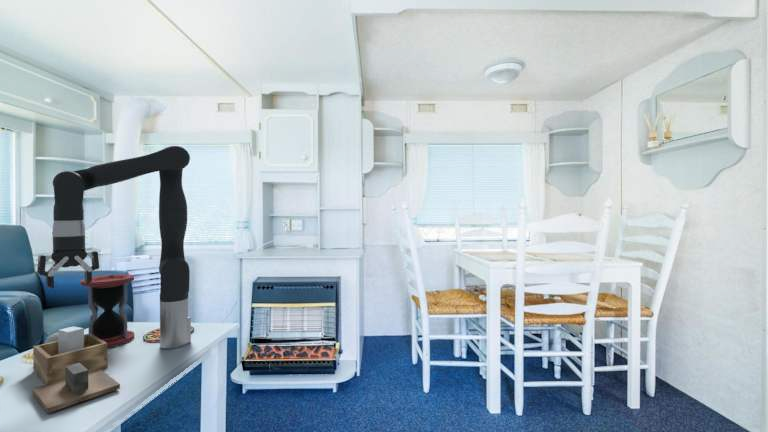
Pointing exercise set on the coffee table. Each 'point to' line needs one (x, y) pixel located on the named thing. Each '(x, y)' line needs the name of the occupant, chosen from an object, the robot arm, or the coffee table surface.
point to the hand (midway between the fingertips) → (70, 285)
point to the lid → (74, 388)
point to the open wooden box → (68, 358)
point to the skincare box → (70, 339)
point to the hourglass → (109, 308)
